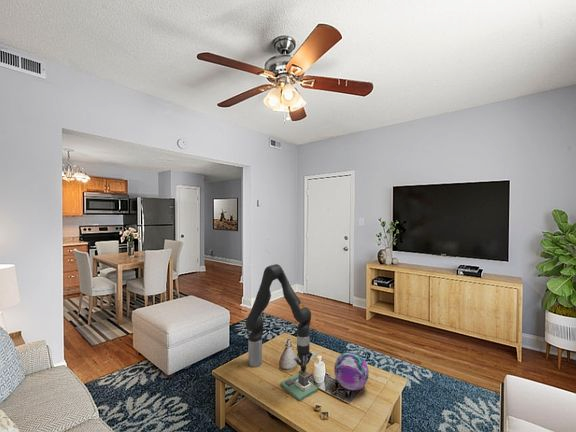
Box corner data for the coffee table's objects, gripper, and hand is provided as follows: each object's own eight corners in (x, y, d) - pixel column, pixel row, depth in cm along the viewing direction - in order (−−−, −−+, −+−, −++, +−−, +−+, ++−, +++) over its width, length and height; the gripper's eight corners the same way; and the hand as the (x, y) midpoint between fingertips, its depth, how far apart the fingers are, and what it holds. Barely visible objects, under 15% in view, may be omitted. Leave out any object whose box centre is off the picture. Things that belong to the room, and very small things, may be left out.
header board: (280, 384, 165) (280, 379, 165) (298, 375, 173) (297, 370, 173) (299, 401, 151) (299, 395, 150) (317, 390, 159) (317, 384, 159)
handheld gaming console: (316, 352, 199) (307, 363, 186) (316, 354, 199) (307, 365, 186) (303, 349, 204) (294, 359, 191) (303, 351, 204) (294, 361, 191)
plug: (298, 384, 162) (298, 371, 162) (302, 382, 165) (302, 369, 164) (304, 389, 158) (304, 375, 158) (308, 386, 161) (308, 373, 160)
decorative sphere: (365, 402, 149) (365, 367, 148) (330, 392, 157) (330, 358, 157) (370, 381, 167) (371, 349, 167) (338, 373, 176) (338, 343, 175)
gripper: (307, 336, 168) (307, 364, 168) (290, 343, 160) (290, 372, 160) (315, 341, 162) (315, 369, 162) (298, 348, 154) (299, 378, 154)
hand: (303, 371), depth 161 cm, fingers closed
